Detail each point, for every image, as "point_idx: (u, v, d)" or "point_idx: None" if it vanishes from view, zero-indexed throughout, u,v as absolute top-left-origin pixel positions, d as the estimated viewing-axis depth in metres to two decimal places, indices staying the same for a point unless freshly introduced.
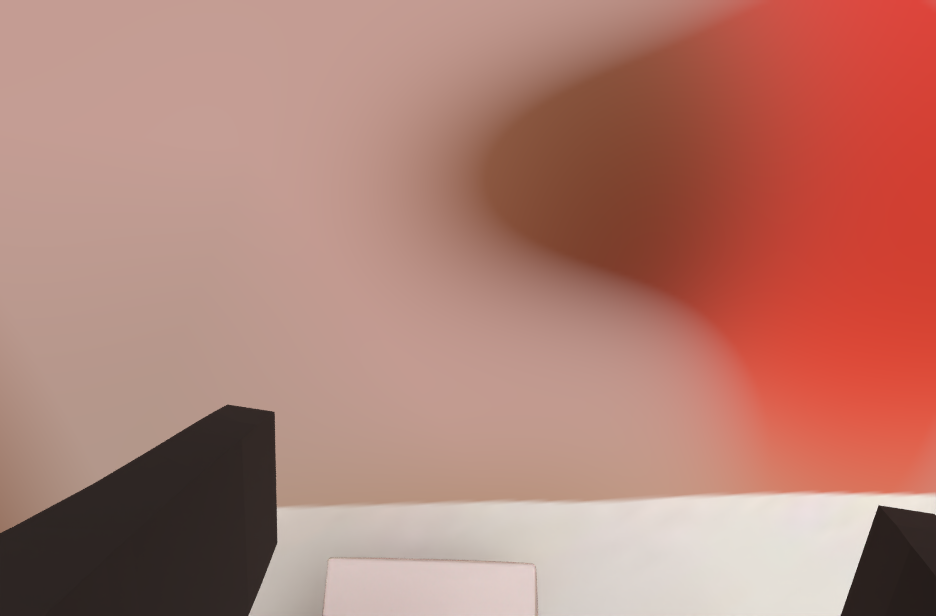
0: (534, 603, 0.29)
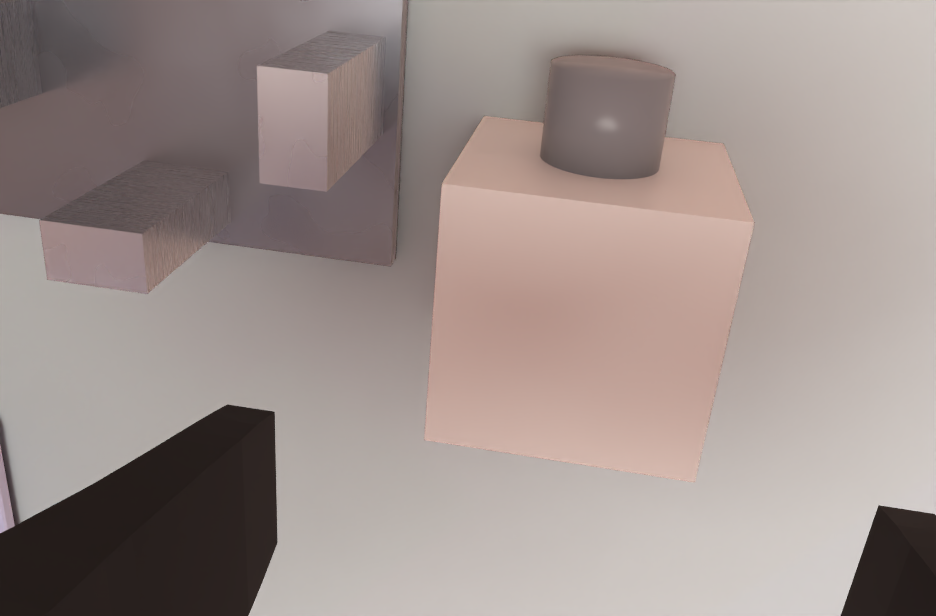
0: None
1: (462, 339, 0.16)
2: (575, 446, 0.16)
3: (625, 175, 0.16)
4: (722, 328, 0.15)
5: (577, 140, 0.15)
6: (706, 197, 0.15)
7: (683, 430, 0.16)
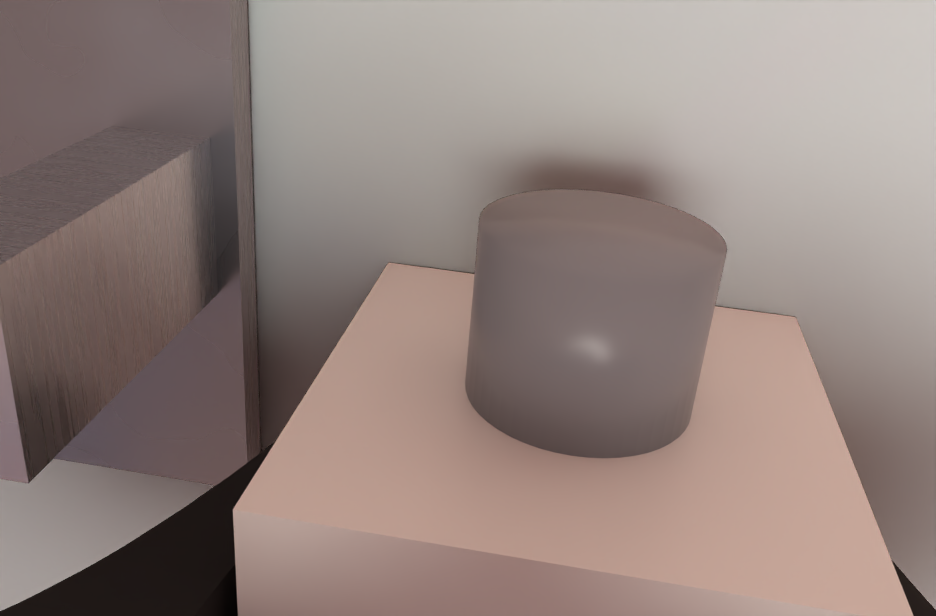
0: None
1: None
2: None
3: (625, 450, 0.08)
4: None
5: (530, 385, 0.08)
6: (797, 517, 0.07)
7: None
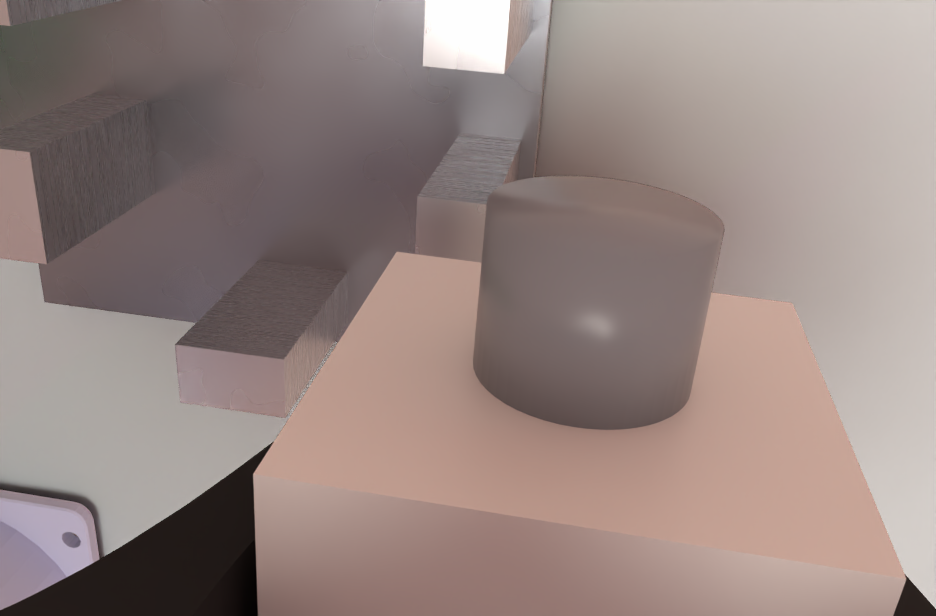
0: None
1: None
2: None
3: (628, 422, 0.08)
4: None
5: (536, 358, 0.08)
6: (791, 483, 0.08)
7: None
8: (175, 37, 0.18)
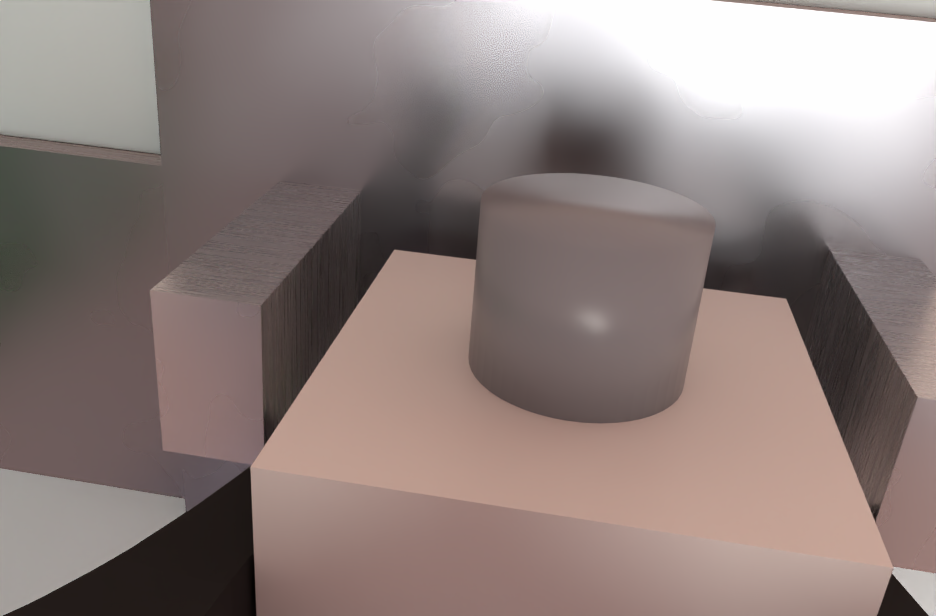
0: None
1: None
2: None
3: (621, 415, 0.08)
4: None
5: (528, 353, 0.08)
6: (782, 475, 0.08)
7: None
8: None
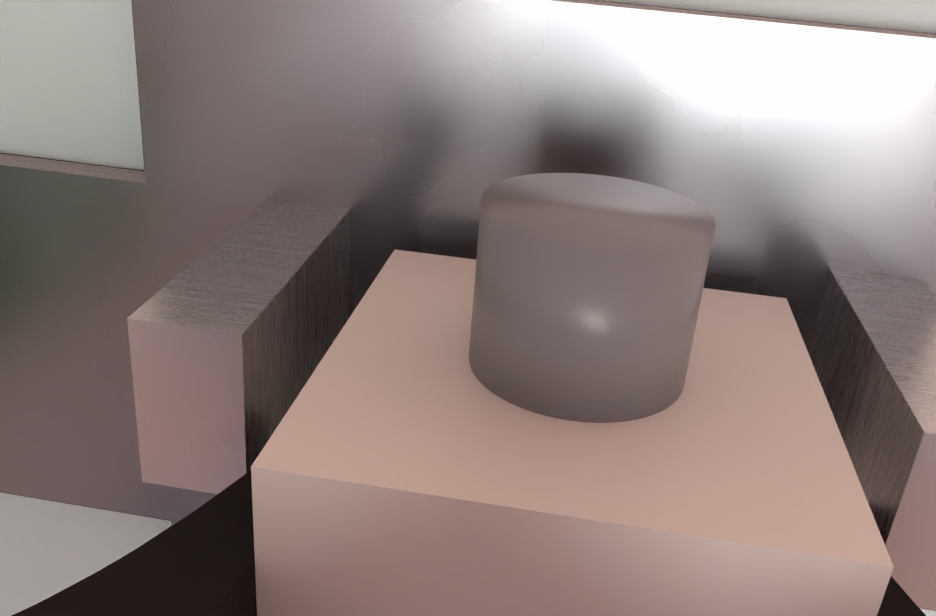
0: None
1: None
2: None
3: (621, 415, 0.08)
4: None
5: (529, 353, 0.08)
6: (781, 474, 0.08)
7: None
8: None
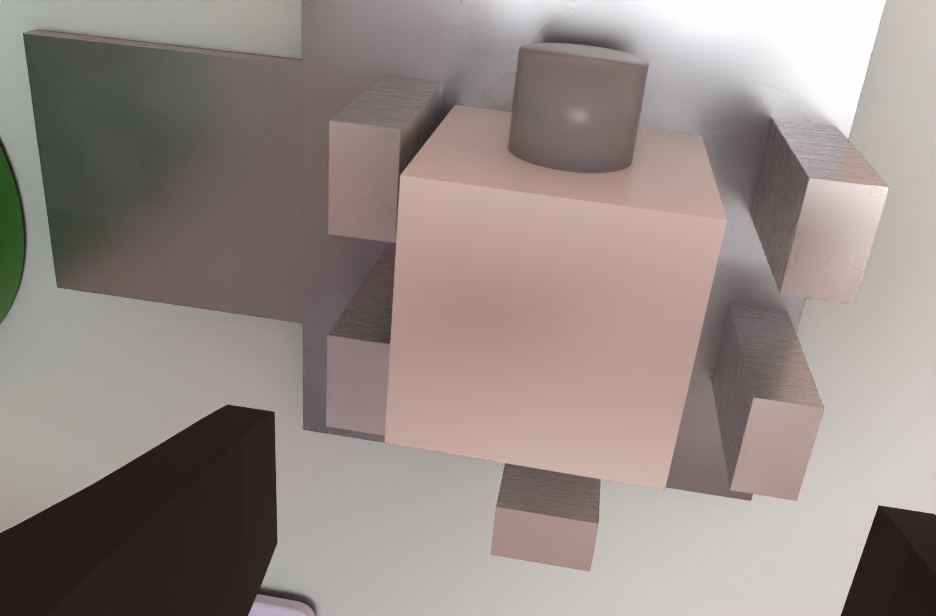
0: None
1: (423, 339, 0.15)
2: (541, 451, 0.16)
3: (594, 169, 0.15)
4: (693, 330, 0.14)
5: (544, 131, 0.15)
6: (679, 193, 0.14)
7: (652, 436, 0.15)
8: None
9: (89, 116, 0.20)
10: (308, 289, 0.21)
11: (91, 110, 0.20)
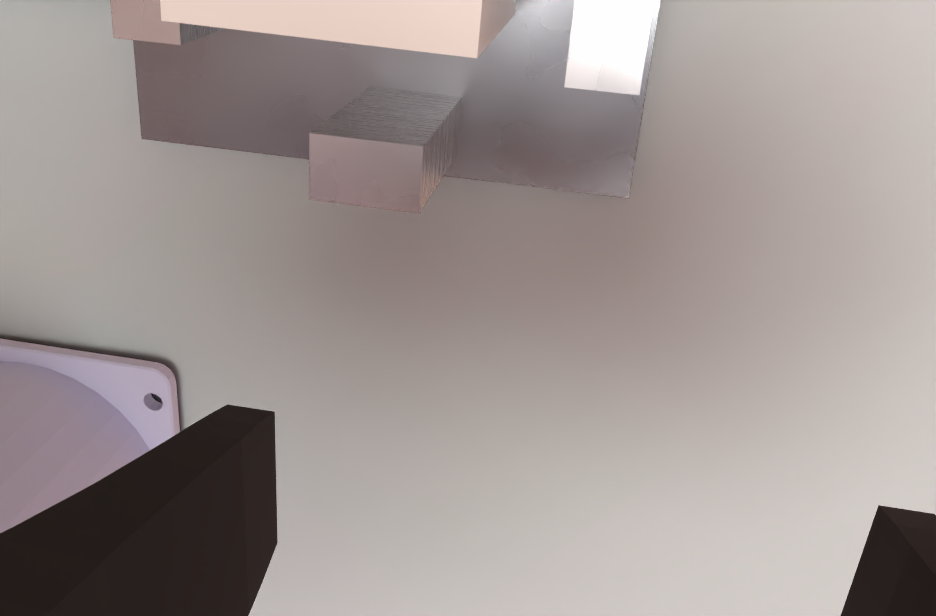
0: None
1: None
2: (334, 15, 0.14)
3: None
4: None
5: None
6: None
7: None
8: None
9: None
10: None
11: None
